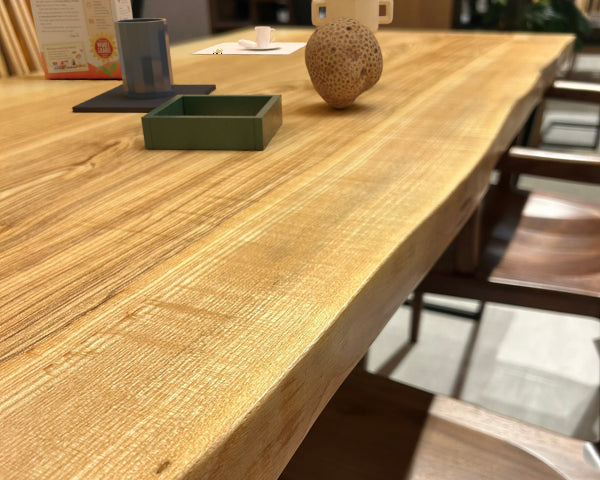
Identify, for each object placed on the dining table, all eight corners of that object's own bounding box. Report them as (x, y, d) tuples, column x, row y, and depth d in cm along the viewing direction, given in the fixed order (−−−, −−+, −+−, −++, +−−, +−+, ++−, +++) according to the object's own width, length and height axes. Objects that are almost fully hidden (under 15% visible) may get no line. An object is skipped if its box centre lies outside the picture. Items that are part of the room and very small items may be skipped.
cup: (117, 99, 82) (105, 22, 77) (135, 90, 87) (125, 18, 83) (165, 99, 81) (156, 22, 77) (180, 90, 86) (172, 17, 82)
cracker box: (142, 74, 104) (122, -75, 94) (126, 80, 99) (103, -77, 89) (63, 73, 107) (36, -71, 97) (44, 79, 101) (13, -73, 92)
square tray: (145, 149, 61) (140, 117, 60) (180, 122, 72) (177, 94, 70) (263, 150, 60) (262, 117, 59) (282, 122, 70) (281, 94, 69)
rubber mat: (72, 112, 78) (71, 107, 78) (121, 88, 92) (121, 84, 92) (183, 112, 76) (183, 107, 76) (216, 88, 90) (215, 84, 90)
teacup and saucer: (234, 51, 128) (233, 29, 126) (246, 46, 135) (245, 25, 133) (277, 51, 126) (276, 29, 125) (286, 46, 133) (286, 25, 131)
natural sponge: (351, 97, 82) (352, 12, 77) (397, 108, 75) (402, 16, 71) (292, 107, 78) (289, 17, 73) (335, 119, 71) (336, 21, 66)
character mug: (386, 80, 93) (389, -19, 87) (394, 89, 87) (398, -18, 81) (311, 83, 93) (310, -17, 87) (314, 91, 86) (312, -16, 80)
